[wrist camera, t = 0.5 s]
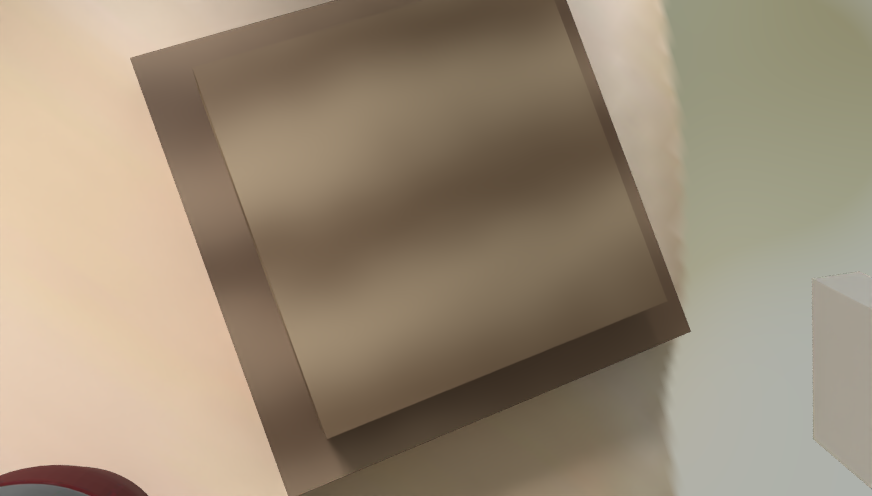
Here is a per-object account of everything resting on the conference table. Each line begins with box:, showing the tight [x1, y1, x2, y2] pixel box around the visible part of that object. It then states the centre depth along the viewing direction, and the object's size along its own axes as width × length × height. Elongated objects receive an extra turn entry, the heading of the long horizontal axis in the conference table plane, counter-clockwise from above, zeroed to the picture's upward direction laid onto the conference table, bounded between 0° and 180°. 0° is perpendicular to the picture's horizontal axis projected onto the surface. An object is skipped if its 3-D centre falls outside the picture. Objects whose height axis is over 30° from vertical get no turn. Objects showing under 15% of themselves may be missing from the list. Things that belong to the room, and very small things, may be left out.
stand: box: [130, 0, 690, 496], centre depth 34 cm, size 18×18×6 cm
